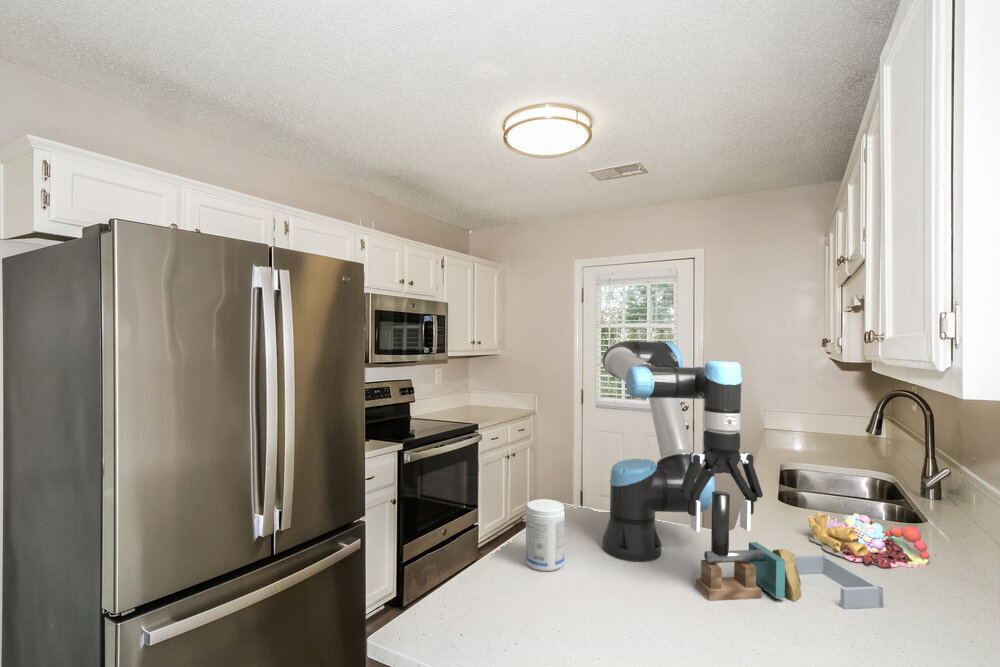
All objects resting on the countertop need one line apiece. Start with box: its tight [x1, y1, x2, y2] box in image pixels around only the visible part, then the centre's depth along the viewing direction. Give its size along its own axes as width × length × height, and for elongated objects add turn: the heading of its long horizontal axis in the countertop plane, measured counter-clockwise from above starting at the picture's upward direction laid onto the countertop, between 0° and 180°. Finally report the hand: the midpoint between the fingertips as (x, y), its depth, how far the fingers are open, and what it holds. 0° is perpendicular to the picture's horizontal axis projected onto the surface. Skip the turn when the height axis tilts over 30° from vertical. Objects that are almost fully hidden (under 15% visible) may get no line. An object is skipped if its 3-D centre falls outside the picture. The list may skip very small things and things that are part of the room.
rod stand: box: [695, 559, 762, 601], centre depth 114 cm, size 12×6×6 cm, turn 97°
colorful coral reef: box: [807, 512, 930, 569], centre depth 140 cm, size 25×24×9 cm
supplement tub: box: [525, 498, 566, 572], centre depth 127 cm, size 10×10×15 cm
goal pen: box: [794, 554, 884, 610], centre depth 117 cm, size 9×17×4 cm, turn 7°
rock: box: [771, 548, 802, 603], centre depth 116 cm, size 10×8×10 cm
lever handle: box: [703, 490, 786, 599], centre depth 114 cm, size 15×10×21 cm, turn 97°
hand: (720, 529), depth 114 cm, fingers open, 11 cm apart
